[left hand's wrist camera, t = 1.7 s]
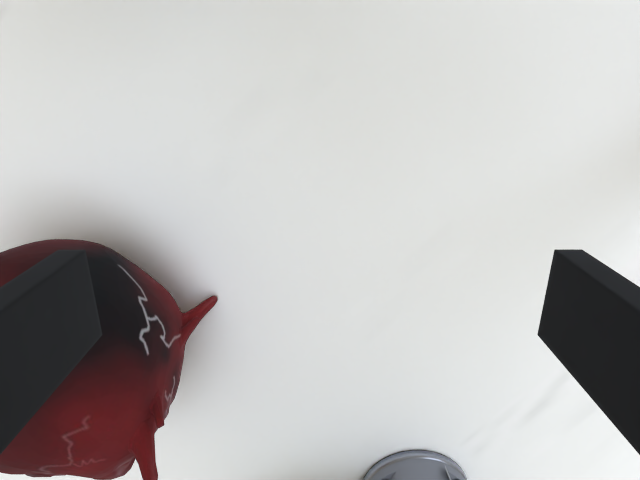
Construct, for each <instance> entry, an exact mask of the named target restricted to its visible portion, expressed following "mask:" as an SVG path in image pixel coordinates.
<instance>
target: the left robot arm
mask: <svg viewBox="0 0 640 480" xmlns="http://www.w3.org/2000/svg"><path fill="white" fill-rule="evenodd" d="M101 336H102V330H101V325H100V320H99V315H98V310H97V305H96V300H95V295H94V290H93V285H92V280H91V275H90V270H89V265H88V260H87V255H86V250H57V251H55V252H54V253H52V254H51V255H49V256H48V257H46V258H45V259H43V260H41V261H40V262H38V263H37V264H35V265H34V266H32V267H31V268H29V269H28V270H26V271H25V272H23V273H21V274H20V275H18V276H17V277H15V278H14V279H12V280H11V281H9V282H8V283H6V284H5V285H3V286H1V287H0V454H1V453H2V452H3V451H4V450H5V449H6V447H7V446H8V445H9V444H10V443H11V442H12V440H13V439H14V438H15V437H16V436H17V434H18V433H19V432H20V431H21V430H22V429H23V427H24V426H25V425H26V424H27V423H28V422H29V420H30V419H31V418H32V417H33V416H34V415H35V413H36V412H37V411H38V410H39V409H40V407H41V406H42V405H43V404H44V403H45V402H46V400H47V399H48V398H49V397H50V396H51V395H52V393H53V392H54V391H55V390H56V389H57V388H58V386H59V385H60V384H61V383H62V382H63V380H64V379H65V378H66V377H67V376H68V375H69V373H70V372H71V371H72V370H73V369H74V368H75V366H76V365H77V364H78V363H79V362H80V361H81V359H82V358H83V357H84V356H85V355H86V353H87V352H88V351H89V350H90V349H91V348H92V346H93V345H94V344H95V343H96V342H97V341H98V339H99V338H100V337H101ZM538 336H539V337H540V338H541V339H542V341H543V342H544V343H545V344H546V345H547V346H548V348H549V349H550V350H551V351H552V352H553V353H554V355H555V356H556V357H557V358H558V359H559V361H560V362H561V363H562V364H563V365H564V366H565V368H566V369H567V370H568V371H569V372H570V373H571V375H572V376H573V377H574V378H575V379H576V380H577V382H578V383H579V384H580V385H581V386H582V388H583V389H584V390H585V391H586V392H587V393H588V395H589V396H590V397H591V398H592V399H593V400H594V402H595V403H596V404H597V405H598V406H599V407H600V409H601V410H602V411H603V412H604V413H605V415H606V416H607V417H608V418H609V419H610V420H611V422H612V423H613V424H614V425H615V426H616V427H617V429H618V430H619V431H620V432H621V433H622V434H623V436H624V437H625V438H626V439H627V440H628V442H629V443H630V444H631V445H632V446H633V447H634V449H635V450H636V451H637V452H638V453H639V454H640V287H639V286H637V285H635V284H634V283H632V282H631V281H629V280H628V279H626V278H625V277H623V276H622V275H620V274H619V273H617V272H615V271H614V270H612V269H611V268H609V267H608V266H606V265H605V264H603V263H602V262H600V261H599V260H597V259H595V258H594V257H592V256H591V255H589V254H588V253H586V252H585V251H583V250H554V255H553V260H552V265H551V270H550V275H549V280H548V285H547V290H546V295H545V300H544V305H543V310H542V315H541V320H540V325H539V330H538ZM363 480H467V479H466V476H465V474H464V472H463V470H462V469H461V468H460V467H459V465H457V464H456V463H455V462H454V461H453V460H451V459H450V458H448V457H446V456H444V455H441V454H439V453H435V452H430V451H422V450H413V451H405V452H400V453H397V454H394V455H391V456H389V457H386V458H385V459H383V460H381V461H379V462H378V463H377V464H375V465H374V466H373V467H372V468H371V469H370V470H369V471H368V472H367V474H366V475H365V477H364V479H363Z"/></svg>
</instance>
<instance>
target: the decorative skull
mask: <svg viewBox="0 0 640 480" xmlns="http://www.w3.org/2000/svg"><path fill="white" fill-rule="evenodd" d="M57 250H86V255H87V260H88V265H89V270H90V275H91V280H92V285H93V290H94V295H95V300H96V305H97V310H98V315H99V320H100V325H101V330H102V336H101V337H100V338H99V339H98V341H97V342H96V343H95V344H94V345H93V346H92V348H91V349H90V350H89V351H88V352H87V353H86V355H85V356H84V357H83V358H82V359H81V361H80V362H79V363H78V364H77V365H76V366H75V368H74V369H73V370H72V371H71V372H70V373H69V375H68V376H67V377H66V378H65V379H64V380H63V382H62V383H61V384H60V385H59V386H58V388H57V389H56V390H55V391H54V392H53V393H52V395H51V396H50V397H49V398H48V399H47V400H46V402H45V403H44V404H43V405H42V406H41V407H40V409H39V410H38V411H37V412H36V413H35V415H34V416H33V417H32V418H31V419H30V420H29V422H28V423H27V424H26V425H25V426H24V427H23V429H22V430H21V431H20V432H19V433H18V434H17V436H16V437H15V438H14V439H13V440H12V442H11V443H10V444H9V445H8V446H7V447H6V449H5V450H4V451H3V452H2V453H1V454H0V472H1V473H6V474H26V475H27V476H31V477H51V476H58V475H73V476H81V477H87V478H93V479H97V480H111V479H114V478H117V477H120V476H123V475H125V474H126V473H127V472H128V471H129V470H130V469H131V467H132V465H133V463H134V461H135V458H136V460H137V462H138V464H139V467H140V471H141V474H142V478H143V480H158V473H157V467H156V462H155V441H154V434H155V432H156V431H157V429H158V428H160V427H162V426H164V419H165V418H166V416H167V415H168V413H169V407H170V405H171V403H172V402H173V400H174V398H175V395H176V392H177V389H178V385H179V381H180V375H181V369H182V364H183V358H184V350H185V344H186V341H187V339H188V338H189V336H190V334H191V333H192V332H193V330H194V329H195V327H196V326H197V325H198V323H199V322H200V320H201V319H202V318H203V317H204V316H205V315H206V313H207V312H208V311H209V310H210V309H211V308H212V307H213V306H214V305H215V303H216V302H217V297H216V296H212V297H210V298H208V299H207V300H205V301H203V302H202V303H201V304H199V305H198V306H196V307H195V308H193V309H191V310H190V311H188V312H186V313H182V312H181V311H180V309H179V307H178V306H177V304H176V302H175V300H174V299H173V297H172V296H171V295H170V293H169V292H168V291H167V290H166V289H165V288H164V287H163V286H162V285H160V284H159V283H158V282H157V281H155V280H154V279H153V278H152V277H151V276H149V275H148V274H147V273H145V272H144V271H143V270H142V269H140V268H139V267H138V266H136V265H135V264H133V263H132V262H130V261H129V260H127V259H126V258H124V257H123V256H121V255H120V254H118V253H116V252H115V251H113V250H112V249H110V248H108V247H105V246H103V245H101V244H97V243H93V242H88V241H83V240H67V239H54V240H44V241H38V242H33V243H29V244H25V245H22V246H19V247H15V248H12V249H9V250H6V251H4V252H1V253H0V287H1V286H3V285H5V284H6V283H8V282H9V281H11V280H12V279H14V278H15V277H17V276H18V275H20V274H21V273H23V272H25V271H26V270H28V269H29V268H31V267H32V266H34V265H35V264H37V263H38V262H40V261H41V260H43V259H45V258H46V257H48V256H49V255H51V254H52V253H54V252H55V251H57Z"/></svg>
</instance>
